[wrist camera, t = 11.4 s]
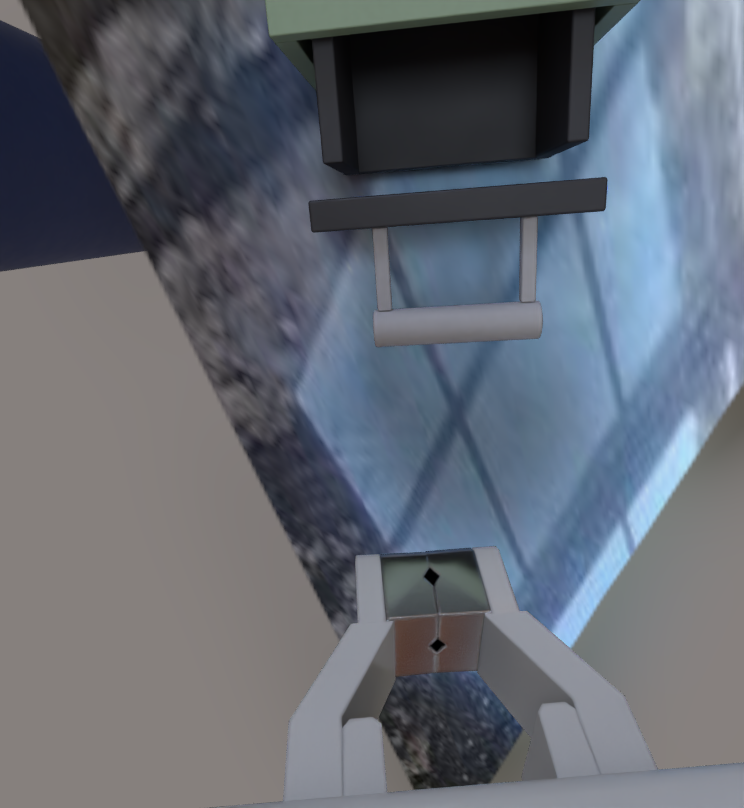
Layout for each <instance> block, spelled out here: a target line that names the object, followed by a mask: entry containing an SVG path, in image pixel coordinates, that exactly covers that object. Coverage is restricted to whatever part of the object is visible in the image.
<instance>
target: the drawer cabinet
mask: <svg viewBox="0 0 744 808" xmlns="http://www.w3.org/2000/svg"><path fill="white" fill-rule="evenodd" d="M639 1H640V0H265V5H266V14H267V22H268V31H269V36H270V38H271V39H272V40H273V41H274V42H275V44H276V45H277V46H278V47H279V48H280V49H281V51H282V52H283V53H284V54H285V55H286V56H287V58H288V59H289V60H290V61H291V62H292V63H293V65H294V66H295V67H296V68H297V69H298V71H299V72H300V73H301V74H302V75H303V76H304V78H305V79H306V80H307V81H308V82H309V83H310V85H311V86H312V87H313V88H314V89H315V90H316V81H315V71H314V60H313V49H312V39H314V38H323V37H332V36H341V35H350V34H359V33H368V32H377V31H386V30H395V29H404V28H413V27H422V26H431V25H440V24H449V23H458V22H467V21H476V20H485V19H494V18H503V17H512V16H521V15H530V14H539V13H548V12H557V11H566V10H575V9H584V8H593V7H596V11H595V30H594V45H595V44H596V43H597V42H598V41H599V40H600V39H601V38H602V37H603V36H604V35H605V34H606V33H607V32H608V31H609V30H610V29H611V28H612V27H614V26H615V25H616V24H617V23H618V22H619V21H620V20H621V19H622V18H623V17H624V16H625V15H626V14H627V13H628V12H629V11H630V10H631V9H632V8H633V7H634V6H635V5H636V4H638V2H639Z"/></svg>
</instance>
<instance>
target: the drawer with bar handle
mask: <svg viewBox="0 0 744 808" xmlns="http://www.w3.org/2000/svg"><path fill="white" fill-rule="evenodd" d="M595 11H596V7H593V8H584V9H575V10H566V11H557V12H548V13H539V14H530V15H521V16H512V17H503V18H494V19H485V20H476V21H467V22H458V23H449V24H440V25H431V26H422V27H413V28H404V29H395V30H386V31H377V32H368V33H359V34H350V35H341V36H332V37H323V38H314V39H312V49H313V60H314V71H315V81H316V92H317V103H318V114H319V124H320V135H321V146H322V156H323V163H324V164H326V165H328V166H330V167H332V168H334V169H336V170H338V171H339V172H341V173H343V174H345V175H353V174H365V173H377V172H389V171H400V170H412V169H424V168H436V167H448V166H459V165H471V164H483V163H495V162H507V161H518V160H530V159H542V158H549V157H551V156H553V155H555V154H557V153H560V152H562V151H565V150H567V149H569V148H572V147H574V146H576V145H579V144H581V143H583V142H586V141H588V139H589V126H590V107H591V88H592V68H593V49H594V30H595ZM606 195H607V178H606V177H601V178H589V179H576V180H564V181H552V182H539V183H527V184H514V185H502V186H489V187H477V188H464V189H452V190H440V191H427V192H415V193H402V194H390V195H377V196H365V197H353V198H340V199H328V200H315V201H310V202H309V212H310V222H311V230H312V232H314V233H315V232H329V231H342V230H356V229H369V228H372V234H373V248H374V263H375V277H376V292H377V307H378V310H375V311H374V313H373V331H374V341H375V345H376V347H387V346H406V345H425V344H444V343H464V342H483V341H502V340H521V339H538V338H540V336H541V333H542V324H543V317H542V308H541V304H540V302H539V301H535V300H536V266H537V227H538V217H537V216H544V215H557V214H571V213H584V212H598V211H604V210H605V208H606ZM517 217H521V218H520V270H519V300H520V301H521V302H505V303H488V304H471V305H454V306H437V307H420V308H403V309H392V294H391V278H390V261H389V244H388V228H387V227H396V226H409V225H423V224H436V223H450V222H463V221H477V220H490V219H504V218H517Z"/></svg>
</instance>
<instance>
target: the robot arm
mask: <svg viewBox="0 0 744 808" xmlns="http://www.w3.org/2000/svg"><path fill="white" fill-rule="evenodd" d="M355 568H356V591H357V613H358V623H354V624H350V626H349V628H348V629H347V631H346V632H345V634H344V635H343V637H342V639H341V640H340V642H339V643H338V645H337V646H336V648H335V650H334V651H333V653H332V654H331V656H330V657H329V659H328V661H327V662H326V664H325V665H324V667H323V668H322V670H321V671H320V673H319V675H318V676H317V678H316V679H315V681H314V682H313V684H312V686H311V687H310V689H309V690H308V692H307V693H306V695H305V697H304V698H303V700H302V701H301V703H300V704H299V706H298V708H297V709H296V711H295V712H294V714H293V715H292V717H291V719H290V720H289V726H288V739H287V754H286V767H285V781H284V795H283V801H282V802H269V803H257V804H245V805H234V806H222V807H209V808H744V763H732V764H720V765H709V766H696V767H685V768H672V769H661V770H658V768H657V765H656V763H655V761H654V759H653V757H652V755H651V752H650V750H649V748H648V746H647V744H646V741H645V739H644V737H643V735H642V733H641V731H640V728H639V726H638V724H637V722H636V719H635V717H634V715H633V713H632V711H631V709H630V706H629V704H628V702H627V700H626V698H625V695H623V694H622V693H621V692H620V691H619V690H617V689H616V688H615V687H614V686H613V685H612V684H610V682H608V681H607V680H606V679H605V678H604V677H603V676H601V675H600V674H599V673H598V672H597V671H596V670H594V669H593V668H592V667H591V666H590V665H589V664H588V663H586V662H585V661H584V660H583V659H582V658H581V657H580V656H578V655H577V654H576V653H575V652H574V651H573V650H571V649H570V648H569V647H568V646H567V645H566V644H565V643H563V642H562V641H561V640H560V639H559V638H558V637H556V636H555V635H554V634H553V633H552V632H551V631H549V630H548V629H547V628H546V627H545V626H544V625H543V624H541V623H540V622H539V621H538V620H537V619H536V618H534V617H533V616H532V615H531V614H530V613H529V612H528V611H519V608H518V605H517V602H516V599H515V596H514V593H513V590H512V587H511V584H510V581H509V578H508V575H507V572H506V570H505V567H504V564H503V561H502V558H501V555H500V552H499V549H498V548H497V547H496V546H489V547H476V548H472V549H471V548H459V549H447V550H435V551H425V552H413V553H390V554H380V556H379V554H374V555H356V560H355ZM459 671H478V672H477V673H478V674H479V675H480V677H481V678H482V679H483V680H484V681H485V683H486V684H487V685H488V686H489V687H490V689H491V690H492V691H493V692H494V694H495V695H496V696H497V697H498V698H499V700H500V701H501V702H502V703H503V705H504V706H505V707H506V708H507V709H508V711H509V712H510V713H511V714H512V715H513V717H514V718H515V719H516V720H517V722H518V723H519V724H520V725H521V726H522V728H523V729H524V730H525V731H526V733H527V734H528V735H529V736H530V737H531V741H530V745H529V750H528V753H527V757H526V761H525V765H524V769H523V773H522V781H517V782H505V783H493V784H481V785H469V786H457V787H445V788H433V789H422V790H411V791H398V792H387V784H386V773H385V760H384V748H383V736H382V724H381V723H380V722H379V721H377V719H378V717H379V715H380V712H381V710H382V708H383V706H384V704H385V701H386V699H387V697H388V695H389V693H390V690H391V688H392V686H393V684H394V681H395V677H399V676H409V675H418V674H428V673H439V672H459Z"/></svg>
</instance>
